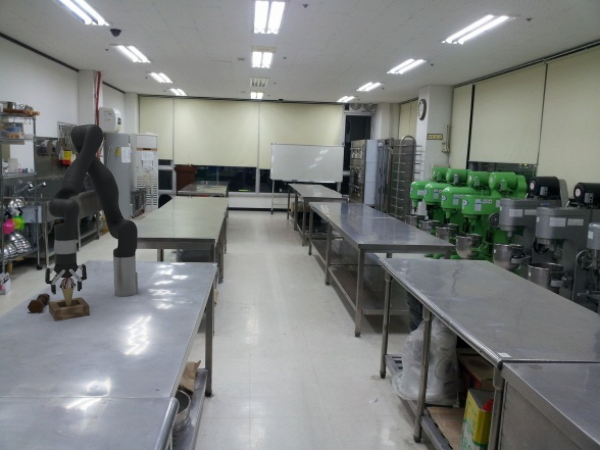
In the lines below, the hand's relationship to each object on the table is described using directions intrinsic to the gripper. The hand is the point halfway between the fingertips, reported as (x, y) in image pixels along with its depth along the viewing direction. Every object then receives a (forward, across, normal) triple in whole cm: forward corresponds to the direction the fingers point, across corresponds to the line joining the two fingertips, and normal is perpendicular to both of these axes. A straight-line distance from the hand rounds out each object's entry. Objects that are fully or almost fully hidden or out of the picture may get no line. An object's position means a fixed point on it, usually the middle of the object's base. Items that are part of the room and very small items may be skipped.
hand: (66, 292), depth 183 cm
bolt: (+9, +7, -14) cm, 18 cm away
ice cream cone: (+9, -1, 0) cm, 9 cm away
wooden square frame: (+8, -1, 0) cm, 9 cm away
